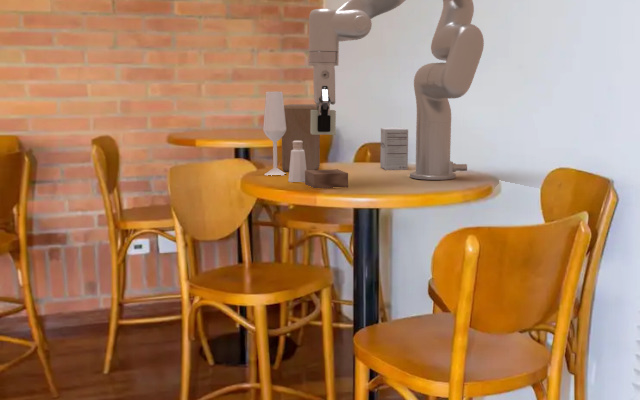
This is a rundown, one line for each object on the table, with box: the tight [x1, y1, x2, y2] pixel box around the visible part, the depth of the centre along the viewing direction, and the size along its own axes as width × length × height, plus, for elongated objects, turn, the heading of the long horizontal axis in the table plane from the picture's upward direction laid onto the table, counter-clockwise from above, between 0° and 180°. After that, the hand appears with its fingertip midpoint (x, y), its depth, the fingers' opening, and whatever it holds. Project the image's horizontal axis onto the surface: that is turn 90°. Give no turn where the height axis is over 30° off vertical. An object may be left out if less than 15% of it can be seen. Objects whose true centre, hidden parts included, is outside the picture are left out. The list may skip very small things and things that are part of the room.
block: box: [281, 103, 321, 172], centre depth 218 cm, size 10×10×20 cm
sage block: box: [310, 109, 337, 136], centre depth 182 cm, size 6×6×6 cm
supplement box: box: [379, 126, 409, 171], centre depth 221 cm, size 7×7×13 cm
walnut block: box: [304, 168, 349, 189], centre depth 185 cm, size 9×9×4 cm
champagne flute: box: [262, 91, 287, 177], centre depth 207 cm, size 7×7×24 cm
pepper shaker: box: [288, 141, 306, 183], centre depth 193 cm, size 5×5×11 cm
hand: (322, 130), depth 183 cm, fingers closed on sage block, 6 cm apart
